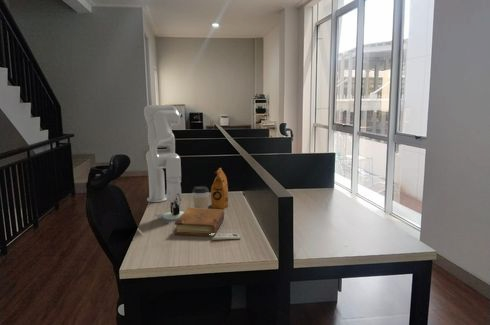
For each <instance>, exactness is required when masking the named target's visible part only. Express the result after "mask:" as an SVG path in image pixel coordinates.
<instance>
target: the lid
mask: <svg viewBox="0 0 490 325" xmlns="http://www.w3.org/2000/svg"><path fill="white" fill-rule="evenodd" d="M173 208H174V205H172V213H171V211H168V212H165V213H162V214H163V219H166V220H178V219H179V217H180V216H181V215H182V214H183V213H184V212H183V211H184V210H179V211H180V214H179V215H173Z"/></svg>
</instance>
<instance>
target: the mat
mask: <svg viewBox="0 0 490 325" xmlns="http://www.w3.org/2000/svg"><path fill="white" fill-rule="evenodd" d="M182 211H183V212H185V211H186V210H182ZM163 214H164V213H159V214H155V216H156V217H157V218H159V220H161V221H162V222H163V223H165V224H169V223H175V222H176V221H177V220H166V219H163Z"/></svg>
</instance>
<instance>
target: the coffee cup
mask: <svg viewBox="0 0 490 325" xmlns="http://www.w3.org/2000/svg"><path fill="white" fill-rule="evenodd" d="M191 192H192V200H193V208H206V209H209V197H210V196H209V195H210V194H209V192H210V190H209V188H208V187H207V186H206V185H200V186H199V185H198V186H194V187H193V189H192V191H191Z"/></svg>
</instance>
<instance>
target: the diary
mask: <svg viewBox="0 0 490 325" xmlns="http://www.w3.org/2000/svg"><path fill="white" fill-rule="evenodd" d="M184 211H185V212H184V213H183V214H182V215H181V216H180V217H179V219H178V220H177V221H176V222H174V225H175V226H176V227H175V228H176V230H175V231H174V235H178V236H179V235H181V236H197V237H198V236H200V237H209V236H208V235H209V234H211V233H217V232H218V230H219V228H220V226H221V225H222V222H223V221H224V219H225V209H216V208H214V209H213V208H208V209H206V208H194V207H188V208H187V209H186V210H184Z"/></svg>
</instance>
